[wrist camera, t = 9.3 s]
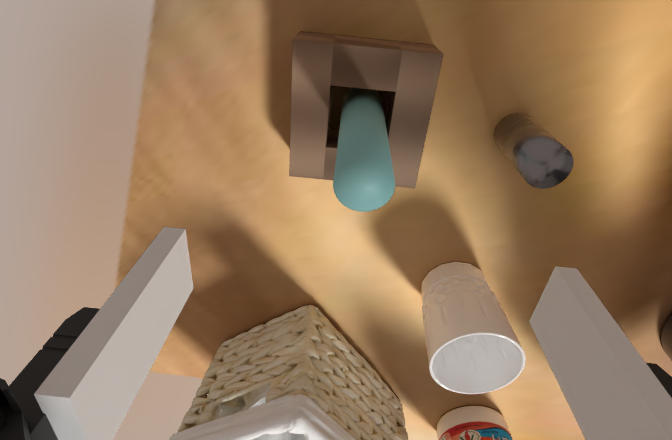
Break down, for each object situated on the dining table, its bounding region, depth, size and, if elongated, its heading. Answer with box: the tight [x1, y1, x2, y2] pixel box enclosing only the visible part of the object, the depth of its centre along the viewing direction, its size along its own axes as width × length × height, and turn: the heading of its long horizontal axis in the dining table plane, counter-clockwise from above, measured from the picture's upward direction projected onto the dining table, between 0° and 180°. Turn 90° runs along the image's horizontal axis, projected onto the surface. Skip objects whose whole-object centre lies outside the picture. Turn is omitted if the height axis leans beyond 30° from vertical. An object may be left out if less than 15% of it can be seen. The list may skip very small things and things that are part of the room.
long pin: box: [333, 87, 395, 212], centre depth 27 cm, size 3×3×14 cm
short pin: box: [494, 113, 573, 189], centre depth 30 cm, size 3×3×7 cm
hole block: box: [289, 32, 443, 188], centre depth 31 cm, size 10×10×4 cm
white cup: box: [421, 262, 526, 394], centre depth 38 cm, size 8×8×10 cm
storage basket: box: [170, 305, 408, 440], centre depth 45 cm, size 24×16×15 cm
